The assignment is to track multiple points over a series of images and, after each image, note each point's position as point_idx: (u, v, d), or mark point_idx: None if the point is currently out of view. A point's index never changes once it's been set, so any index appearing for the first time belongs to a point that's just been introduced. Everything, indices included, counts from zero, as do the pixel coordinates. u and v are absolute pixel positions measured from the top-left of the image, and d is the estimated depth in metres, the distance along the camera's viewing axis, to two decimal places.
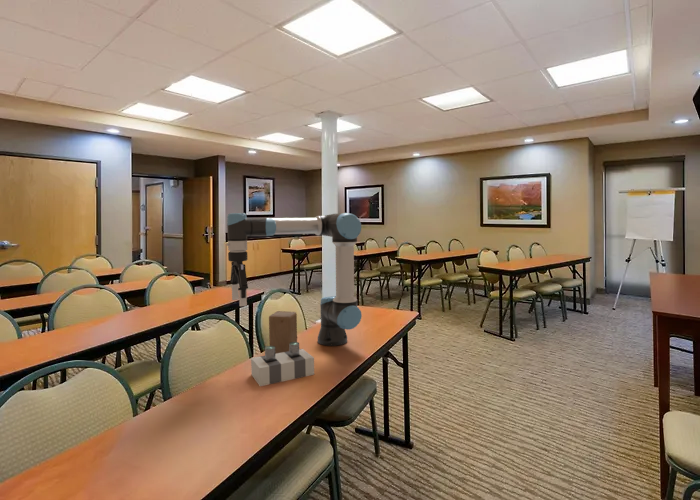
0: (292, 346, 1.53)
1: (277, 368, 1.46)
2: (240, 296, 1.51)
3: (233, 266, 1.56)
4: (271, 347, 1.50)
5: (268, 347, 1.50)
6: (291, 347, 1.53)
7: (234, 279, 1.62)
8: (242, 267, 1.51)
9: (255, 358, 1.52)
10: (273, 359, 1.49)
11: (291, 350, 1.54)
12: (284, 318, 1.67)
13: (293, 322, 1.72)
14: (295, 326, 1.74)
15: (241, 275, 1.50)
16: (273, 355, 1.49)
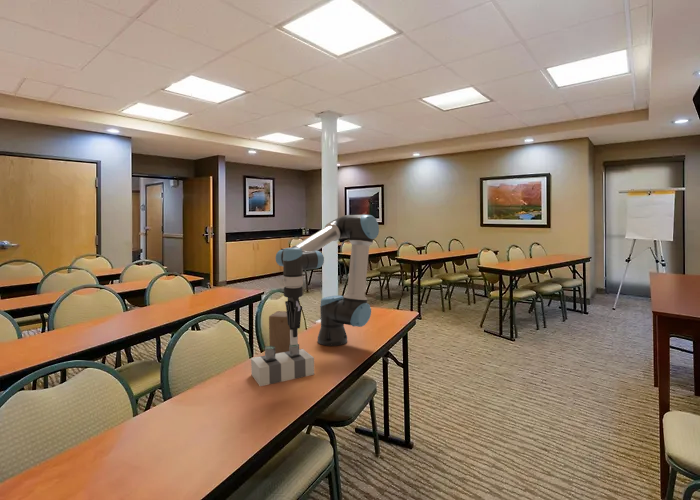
0: (292, 347, 1.53)
1: (277, 368, 1.46)
2: (292, 335, 1.54)
3: (288, 301, 1.54)
4: (271, 347, 1.50)
5: (268, 347, 1.50)
6: (291, 348, 1.53)
7: None
8: (299, 309, 1.49)
9: (255, 358, 1.52)
10: (273, 359, 1.49)
11: (291, 351, 1.54)
12: (284, 318, 1.67)
13: None
14: None
15: (296, 317, 1.50)
16: (273, 355, 1.49)
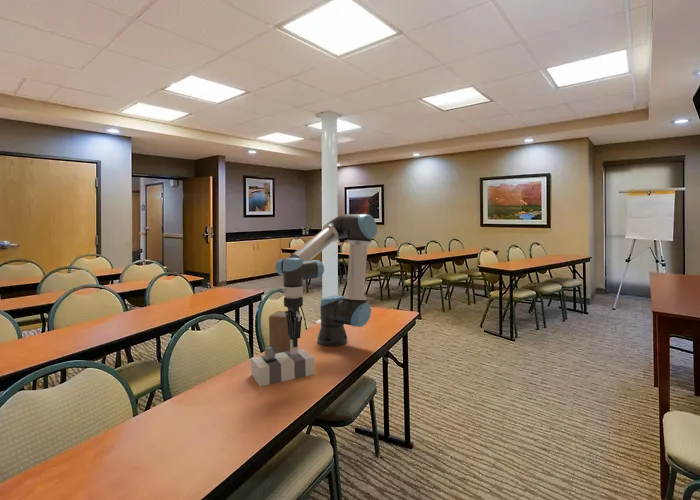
0: (292, 357, 1.54)
1: (277, 368, 1.46)
2: (292, 345, 1.54)
3: (288, 311, 1.54)
4: (271, 347, 1.50)
5: (268, 347, 1.50)
6: None
7: (292, 329, 1.55)
8: (299, 320, 1.49)
9: (255, 358, 1.52)
10: (273, 359, 1.49)
11: None
12: (284, 318, 1.67)
13: None
14: None
15: (296, 327, 1.50)
16: (273, 355, 1.49)
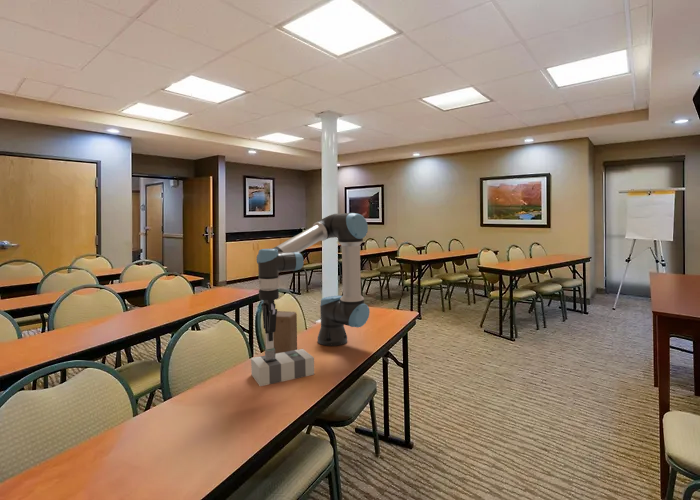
0: (292, 357, 1.54)
1: (277, 368, 1.46)
2: (267, 339, 1.49)
3: (263, 303, 1.49)
4: None
5: None
6: None
7: None
8: (274, 313, 1.44)
9: (255, 358, 1.52)
10: (273, 360, 1.49)
11: None
12: (284, 318, 1.67)
13: (294, 322, 1.72)
14: (295, 326, 1.74)
15: (271, 320, 1.45)
16: (273, 357, 1.49)
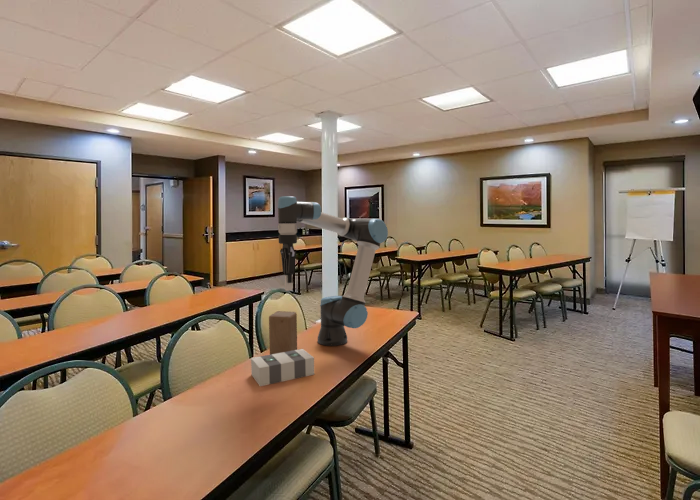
0: (292, 357, 1.54)
1: (277, 368, 1.46)
2: (286, 281, 1.60)
3: (283, 248, 1.60)
4: (271, 359, 1.51)
5: (268, 359, 1.51)
6: None
7: None
8: (293, 255, 1.55)
9: (255, 358, 1.52)
10: None
11: None
12: (284, 318, 1.67)
13: (293, 322, 1.72)
14: (295, 326, 1.74)
15: (290, 262, 1.56)
16: None
